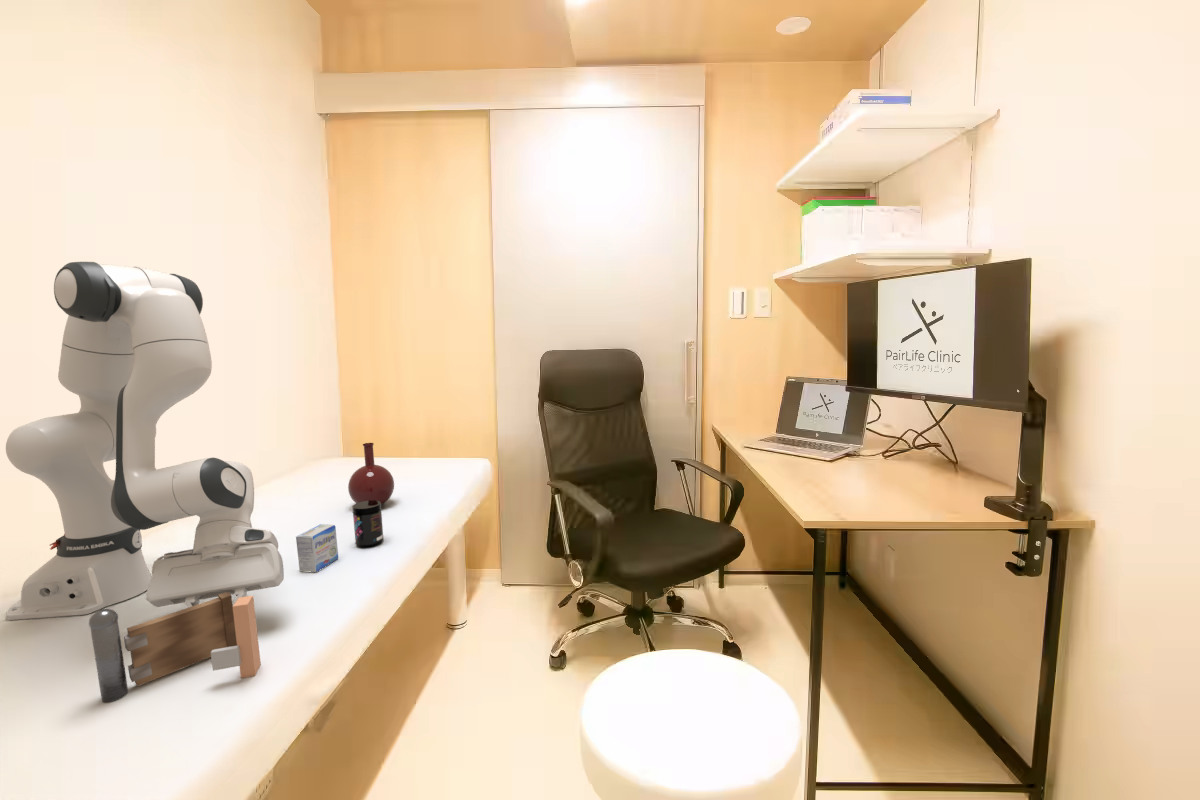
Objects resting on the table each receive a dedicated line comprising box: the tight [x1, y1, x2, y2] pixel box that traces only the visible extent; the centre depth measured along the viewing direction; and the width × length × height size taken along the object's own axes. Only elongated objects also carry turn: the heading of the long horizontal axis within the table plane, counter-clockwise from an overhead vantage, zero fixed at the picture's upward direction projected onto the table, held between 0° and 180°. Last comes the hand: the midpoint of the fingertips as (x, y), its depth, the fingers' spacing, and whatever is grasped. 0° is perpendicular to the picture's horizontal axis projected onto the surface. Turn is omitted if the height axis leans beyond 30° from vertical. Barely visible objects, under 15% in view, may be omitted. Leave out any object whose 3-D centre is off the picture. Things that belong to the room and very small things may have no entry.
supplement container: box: [351, 500, 384, 549], centre depth 139 cm, size 7×7×10 cm
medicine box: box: [295, 523, 339, 573], centre depth 127 cm, size 8×4×9 cm, turn 168°
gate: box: [123, 592, 237, 687], centre depth 88 cm, size 14×2×9 cm, turn 140°
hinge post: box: [88, 608, 129, 704], centre depth 81 cm, size 3×3×14 cm
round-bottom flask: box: [347, 442, 395, 506], centre depth 168 cm, size 13×13×20 cm
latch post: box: [210, 595, 262, 679], centre depth 86 cm, size 5×4×12 cm
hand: (214, 620), depth 94 cm, fingers open, 4 cm apart
